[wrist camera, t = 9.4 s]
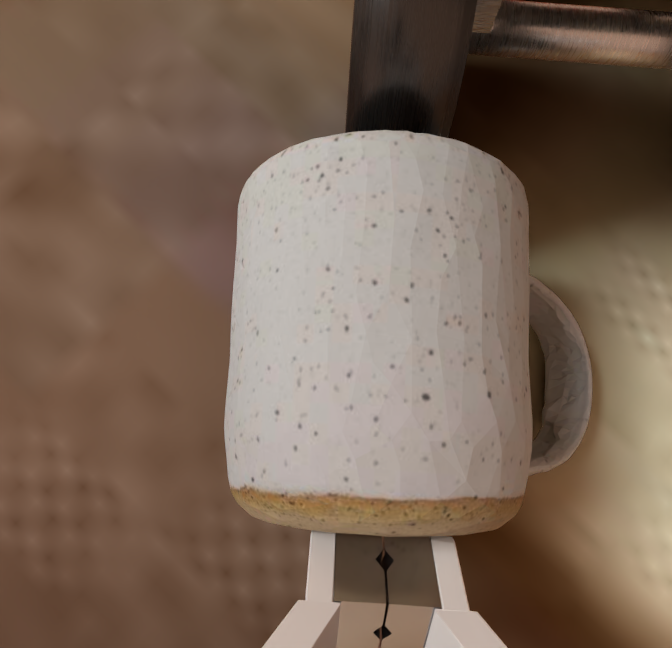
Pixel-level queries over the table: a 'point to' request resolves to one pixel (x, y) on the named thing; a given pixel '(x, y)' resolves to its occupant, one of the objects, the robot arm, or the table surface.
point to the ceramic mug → (392, 341)
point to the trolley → (478, 51)
